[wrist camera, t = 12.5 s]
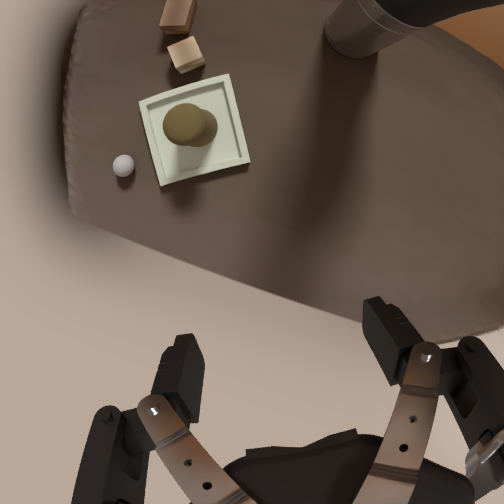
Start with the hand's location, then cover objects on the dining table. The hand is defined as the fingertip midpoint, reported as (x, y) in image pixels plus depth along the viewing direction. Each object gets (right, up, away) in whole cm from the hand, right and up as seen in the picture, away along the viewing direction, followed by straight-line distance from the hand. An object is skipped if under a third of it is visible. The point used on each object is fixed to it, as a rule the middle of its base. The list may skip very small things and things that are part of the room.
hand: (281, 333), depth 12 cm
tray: (-10, +22, +25) cm, 35 cm away
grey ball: (-21, +17, +25) cm, 37 cm away
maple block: (-11, +33, +21) cm, 40 cm away
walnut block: (-12, +40, +18) cm, 46 cm away
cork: (-9, +22, +25) cm, 35 cm away
